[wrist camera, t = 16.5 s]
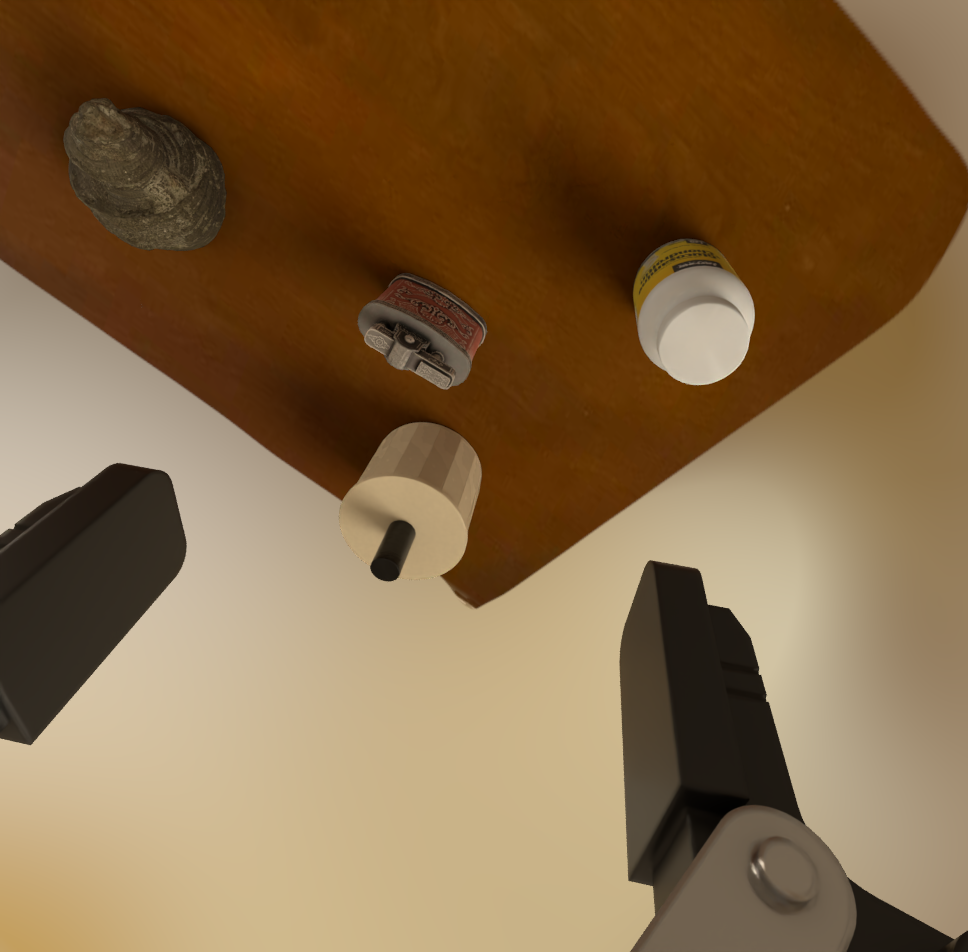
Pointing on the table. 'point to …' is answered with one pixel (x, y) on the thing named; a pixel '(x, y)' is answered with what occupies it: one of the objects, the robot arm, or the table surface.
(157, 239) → the seashell
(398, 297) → the lighter
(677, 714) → the robot arm
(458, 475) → the pot
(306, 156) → the table surface
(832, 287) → the table surface
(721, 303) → the pill bottle
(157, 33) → the table surface
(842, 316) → the table surface
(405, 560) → the pot lid
